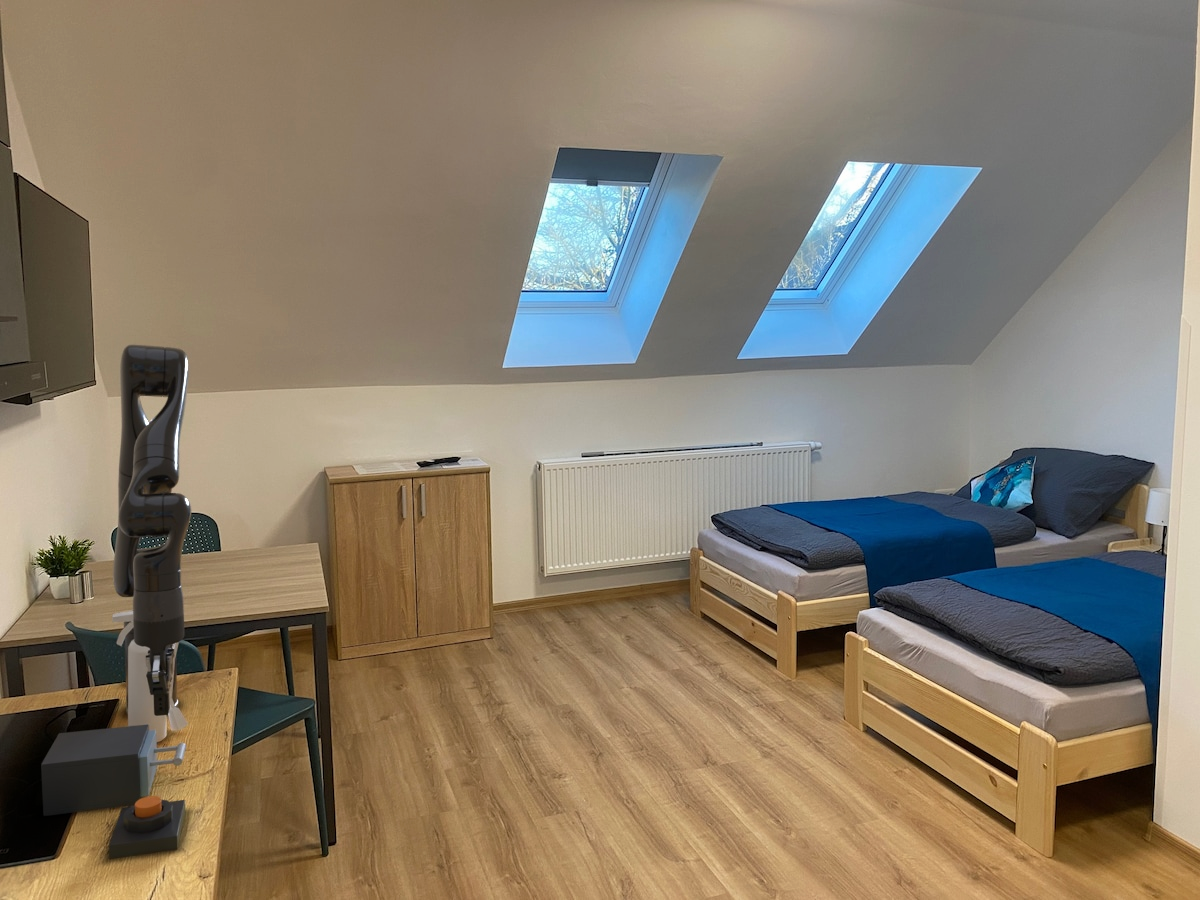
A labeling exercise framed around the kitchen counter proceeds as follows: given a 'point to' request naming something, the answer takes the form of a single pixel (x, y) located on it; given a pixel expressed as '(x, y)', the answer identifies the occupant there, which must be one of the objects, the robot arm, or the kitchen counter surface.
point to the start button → (148, 806)
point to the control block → (147, 831)
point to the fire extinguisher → (145, 687)
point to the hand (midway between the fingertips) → (162, 713)
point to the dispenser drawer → (155, 761)
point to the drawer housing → (93, 770)
